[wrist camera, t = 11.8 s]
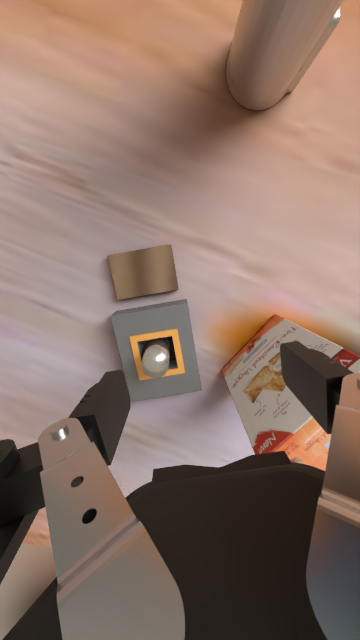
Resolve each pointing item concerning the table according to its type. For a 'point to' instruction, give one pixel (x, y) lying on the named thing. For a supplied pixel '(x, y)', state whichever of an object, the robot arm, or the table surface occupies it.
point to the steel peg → (156, 358)
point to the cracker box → (280, 393)
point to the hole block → (153, 325)
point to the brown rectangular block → (143, 272)
